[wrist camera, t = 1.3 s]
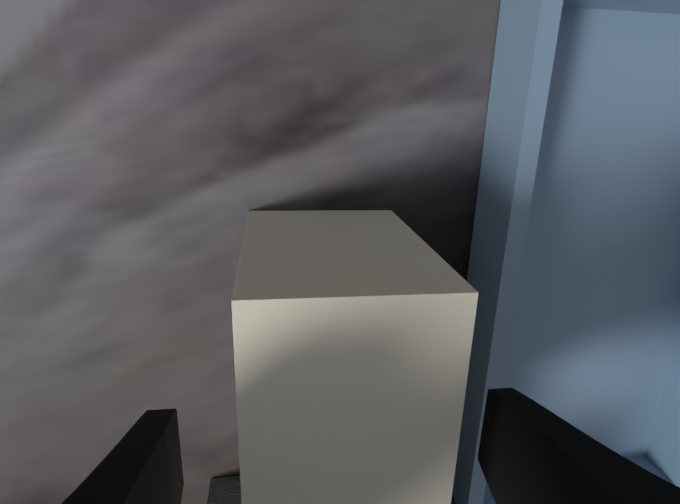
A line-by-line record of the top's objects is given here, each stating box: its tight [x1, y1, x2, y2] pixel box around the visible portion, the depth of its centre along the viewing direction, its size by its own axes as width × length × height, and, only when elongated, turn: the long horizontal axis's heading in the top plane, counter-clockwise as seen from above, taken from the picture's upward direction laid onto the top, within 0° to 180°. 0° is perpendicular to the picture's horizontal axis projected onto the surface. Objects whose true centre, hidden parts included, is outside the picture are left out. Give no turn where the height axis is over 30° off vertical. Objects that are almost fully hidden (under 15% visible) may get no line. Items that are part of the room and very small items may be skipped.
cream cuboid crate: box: [232, 210, 479, 504], centre depth 12 cm, size 4×12×6 cm, turn 178°
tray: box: [452, 0, 680, 504], centre depth 14 cm, size 8×16×2 cm, turn 178°
